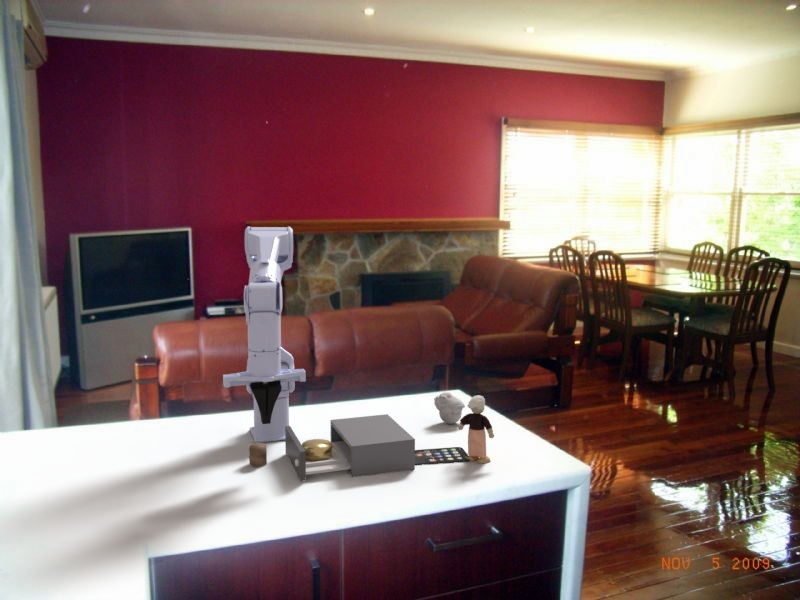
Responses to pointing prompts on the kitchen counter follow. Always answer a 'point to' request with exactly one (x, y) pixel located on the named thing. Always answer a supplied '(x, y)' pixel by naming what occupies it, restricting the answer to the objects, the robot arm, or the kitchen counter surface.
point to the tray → (303, 467)
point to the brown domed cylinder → (258, 454)
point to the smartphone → (440, 456)
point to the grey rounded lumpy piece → (449, 407)
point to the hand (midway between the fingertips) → (265, 422)
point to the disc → (317, 450)
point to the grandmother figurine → (477, 430)
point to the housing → (375, 444)
